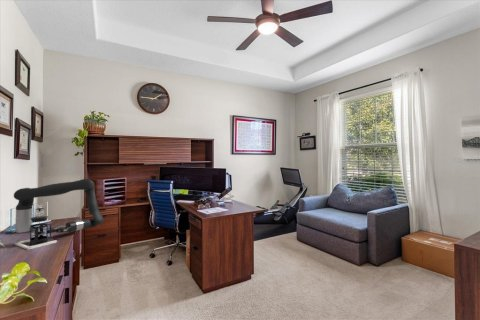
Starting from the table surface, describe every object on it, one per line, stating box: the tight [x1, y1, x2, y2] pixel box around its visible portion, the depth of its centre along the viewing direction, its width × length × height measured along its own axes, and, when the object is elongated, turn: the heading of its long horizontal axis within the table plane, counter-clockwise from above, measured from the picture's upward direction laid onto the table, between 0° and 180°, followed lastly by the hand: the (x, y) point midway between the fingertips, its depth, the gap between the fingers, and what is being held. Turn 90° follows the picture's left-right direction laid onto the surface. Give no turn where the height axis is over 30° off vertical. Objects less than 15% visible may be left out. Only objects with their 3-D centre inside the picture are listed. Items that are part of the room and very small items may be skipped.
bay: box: [14, 238, 58, 250], centre depth 153 cm, size 18×16×1 cm
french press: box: [28, 207, 52, 246], centre depth 154 cm, size 12×9×23 cm
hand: (47, 231), depth 158 cm, fingers closed
